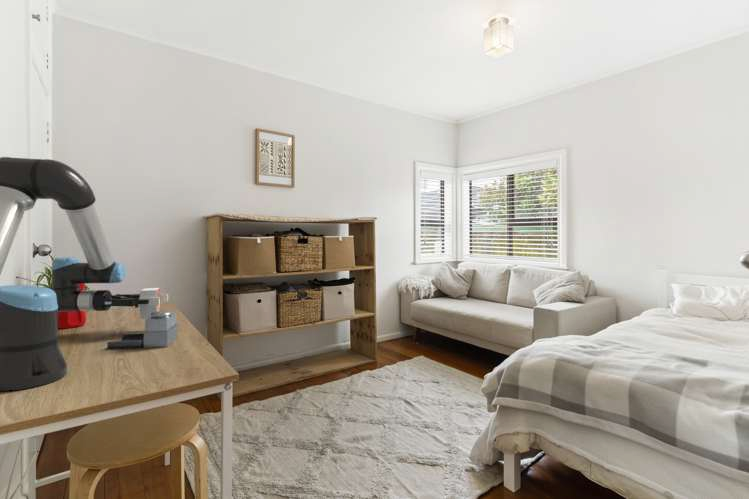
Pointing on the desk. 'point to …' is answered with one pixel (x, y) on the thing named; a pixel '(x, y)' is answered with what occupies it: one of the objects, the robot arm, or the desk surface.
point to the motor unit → (150, 333)
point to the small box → (148, 309)
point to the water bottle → (72, 317)
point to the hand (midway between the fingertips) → (163, 299)
